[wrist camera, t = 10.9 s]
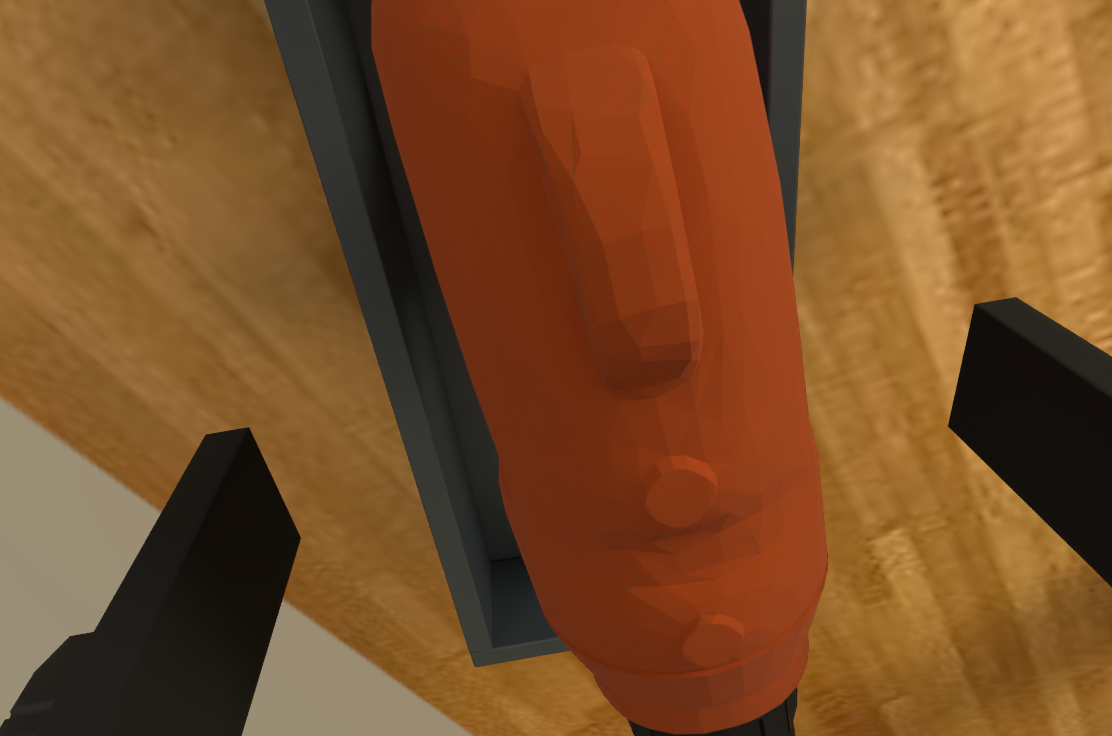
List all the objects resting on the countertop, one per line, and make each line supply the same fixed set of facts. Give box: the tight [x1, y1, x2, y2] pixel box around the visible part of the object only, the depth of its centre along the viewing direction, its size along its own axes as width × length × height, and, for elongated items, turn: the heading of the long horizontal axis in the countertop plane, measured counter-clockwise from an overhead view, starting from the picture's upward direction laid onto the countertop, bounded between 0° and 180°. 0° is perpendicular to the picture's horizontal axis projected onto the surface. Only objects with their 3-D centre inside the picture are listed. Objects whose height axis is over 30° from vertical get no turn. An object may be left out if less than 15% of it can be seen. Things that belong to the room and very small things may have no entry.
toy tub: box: [264, 0, 807, 667], centre depth 19 cm, size 25×11×5 cm, turn 8°
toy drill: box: [371, 0, 828, 736], centre depth 14 cm, size 5×19×15 cm, turn 14°
